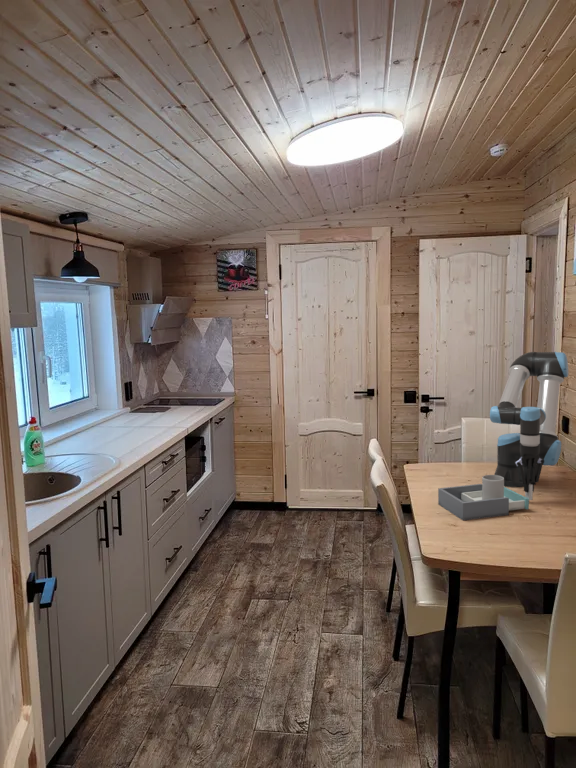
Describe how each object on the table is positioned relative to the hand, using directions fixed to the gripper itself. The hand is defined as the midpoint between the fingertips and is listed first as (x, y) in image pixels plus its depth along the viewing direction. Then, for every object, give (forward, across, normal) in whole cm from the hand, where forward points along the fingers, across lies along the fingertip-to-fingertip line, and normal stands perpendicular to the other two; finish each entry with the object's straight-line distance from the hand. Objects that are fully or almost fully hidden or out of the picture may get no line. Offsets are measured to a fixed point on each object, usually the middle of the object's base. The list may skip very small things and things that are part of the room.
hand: (528, 499), depth 233 cm
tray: (0, +17, 0) cm, 17 cm away
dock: (+2, +26, 0) cm, 26 cm away
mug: (0, +16, 0) cm, 16 cm away
